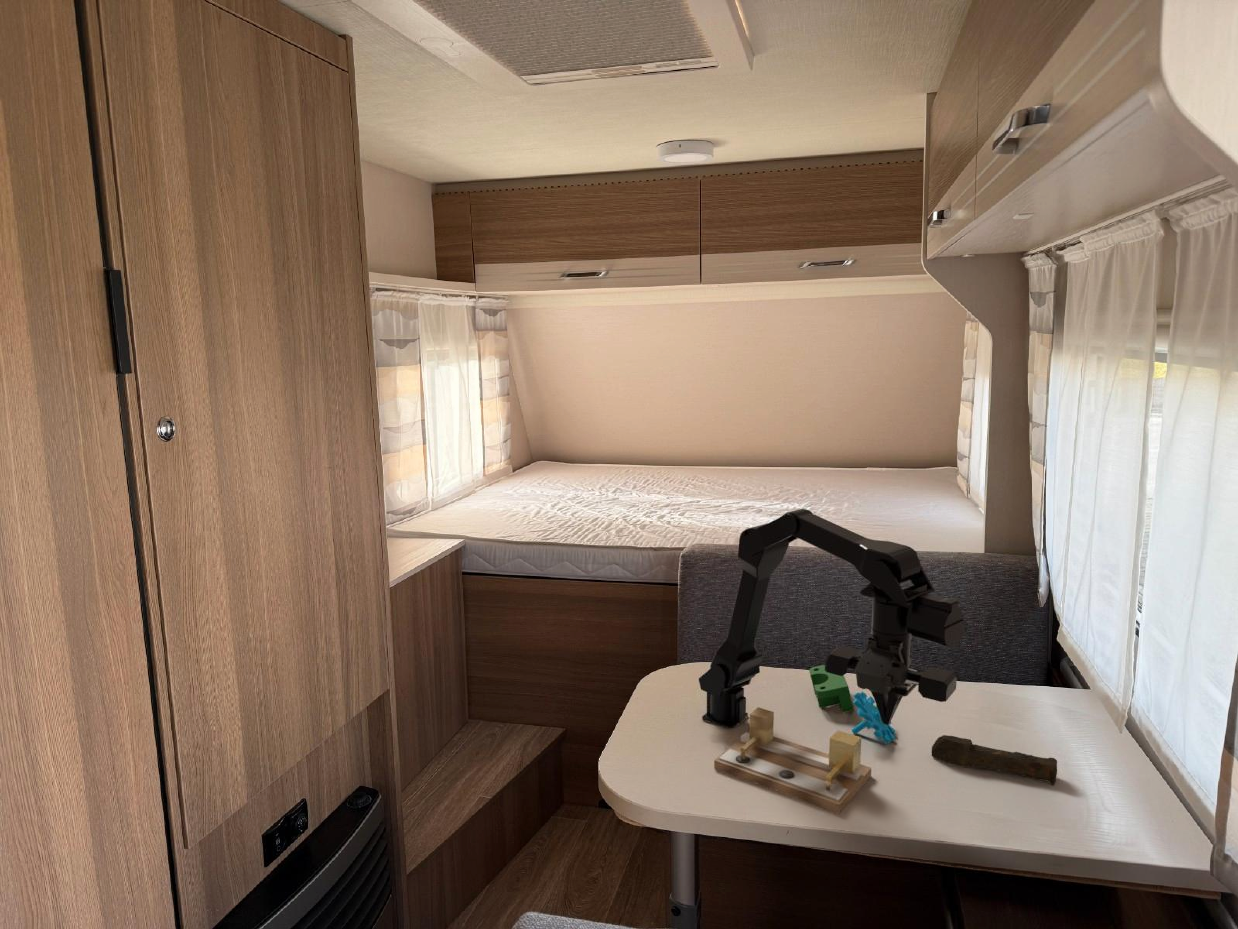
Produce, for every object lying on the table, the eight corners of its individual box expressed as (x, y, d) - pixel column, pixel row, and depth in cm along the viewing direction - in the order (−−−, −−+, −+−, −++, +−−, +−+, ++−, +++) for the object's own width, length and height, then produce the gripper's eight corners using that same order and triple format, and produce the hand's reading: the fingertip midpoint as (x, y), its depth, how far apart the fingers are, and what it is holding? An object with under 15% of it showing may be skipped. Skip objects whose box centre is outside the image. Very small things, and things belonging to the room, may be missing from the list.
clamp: (819, 713, 171) (807, 668, 173) (849, 707, 170) (837, 661, 172) (823, 718, 159) (810, 669, 162) (855, 711, 159) (841, 662, 161)
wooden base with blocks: (714, 768, 143) (714, 727, 141) (751, 737, 153) (752, 698, 152) (839, 813, 130) (841, 768, 128) (871, 776, 140) (872, 733, 138)
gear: (891, 747, 146) (853, 697, 149) (865, 764, 148) (827, 716, 151) (904, 728, 155) (868, 682, 158) (879, 745, 158) (843, 699, 161)
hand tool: (1056, 777, 139) (1058, 751, 139) (1056, 789, 136) (1058, 762, 135) (933, 751, 148) (935, 726, 147) (930, 762, 144) (932, 737, 144)
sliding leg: (814, 784, 134) (815, 752, 133) (836, 761, 141) (837, 730, 140) (839, 793, 132) (840, 759, 130) (860, 769, 138) (861, 737, 137)
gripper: (811, 631, 129) (808, 727, 132) (937, 660, 118) (931, 764, 121) (840, 610, 138) (837, 700, 140) (960, 635, 126) (954, 733, 129)
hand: (886, 723), depth 132 cm, fingers closed
